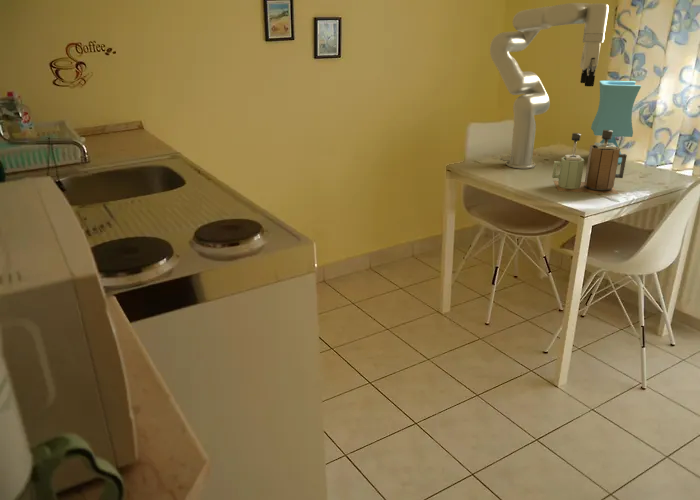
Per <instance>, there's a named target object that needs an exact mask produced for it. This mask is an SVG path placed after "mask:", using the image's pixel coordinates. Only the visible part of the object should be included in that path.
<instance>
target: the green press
mask: <svg viewBox="0 0 700 500" xmlns="http://www.w3.org/2000/svg"><path fill="white" fill-rule="evenodd" d="M560 159H561V161H560V160H554V161H553V167H552V176H551V178H552V179H558V180H557V181H558V183H559V184H558V186H559V187H561V188H564V189H578V188H580V185H581V182H582V179H583V170H584V166H585V165H584V164H585V159H584V158H582V157H581V155H580V154H575V157H572V154H565V155H564V156H563V157H561V158H560ZM558 166H559V174H557V167H558Z"/></svg>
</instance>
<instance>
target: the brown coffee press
mask: <svg viewBox="0 0 700 500" xmlns="http://www.w3.org/2000/svg"><path fill="white" fill-rule="evenodd" d="M603 149H606V150H603ZM620 152H621V148H620V146H618V147H617V146H615V145H614V144H613V143H607V146H604V143H600V142H594V144H592V145H589V152H588V159H587V165H586V171H585V177H584V182H585V188H587V189H589V190H593V191H610V190H612V188H613V187H614V185H615V181H616V180H615V179H623V178H624V172H625V168H626V162H627V154H626V153H621V154H619V153H620ZM619 157H620V158H622V162H621V165H620V168H619V173H617V167H618V165H619V164H618V158H619Z"/></svg>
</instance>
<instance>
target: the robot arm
mask: <svg viewBox="0 0 700 500" xmlns="http://www.w3.org/2000/svg"><path fill="white" fill-rule="evenodd" d="M609 7H610V6H609V4H607V3H602V2H601V3H590V2H589V3H587V2H571V3H564V4H563V3H562V4H557V5H552V6H551V5H550V6H549V5H548V6H542V7H536V8H529V9H524V10H520V11H518V12H516V13H515V15H514V16H513V18H512V26H513V27H514V29H515V30H516V31H504V32H501V33H500V32H499V33H498V34H496V35H495V36H494V37H493V38H492V40H491V42H490V47H489V52H490V53H489V54H490V58H491V60H492V62H493V65H494V66H495V67H496V68H497V71H498V72H499V74H500V77H501V79H502V81H503V83H504V85H505V87H506V89H507V91H508V92H509V94H511V95H513V96H518V97H517V98H516V99H514V102H513V106H512V107H513V108H512V110H513V128H512V140H511V149H510V153H509V155H500V156H499V160H500V161H503V162H505V161H506V166H507V167H509V168H513V169H519V170H520V169H521V170H523V169H533V168H534V167H535V166H536V163H535V162H533V156H534V155H533V154H534V146H535V139H536V129H537V125H536V120H535V119H536V118H535V116H537V115H542V114H544V113H546V112H547V111H548V110H549V109H550V106H551V102H550V97H549V94H548V93H547V91H546V89H545V86H544V84H543V82H542V80H541V79H540V77H539V76H538V75H537V73H535V72H533V71H523V70H522V69H521V67H520V65H519V63H518V61H517V60H516V59H515V57H514V56H513V55H511V54H510V53H515V52H517V53H518V52H521V51H524V50H525V49H527V48H528V47H529V45H530V44H531V43H532V42H533V40H534V39H535V38H536V36H537V35H538V34H539V32H540V31H541V30H548V29H550V28H552V27H556V26H557V27H558V26H566V25H567V26H569V25H583V24H584V29H583V37H582V43H583V48H582V54H581V58H580V63H579V67H580V69H582V70H581V74H580V75H581V76H580V84H584V87H594V85H595V77H596V70H597V68H598V65H599V60H600V58H599V57H600V51H601V44H603V43H604V42H605V36H606V35H605V33H606V29H607V22H608V15H609V10H610V8H609ZM519 95H520V96H519Z"/></svg>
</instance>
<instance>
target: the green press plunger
mask: <svg viewBox="0 0 700 500" xmlns="http://www.w3.org/2000/svg"><path fill="white" fill-rule="evenodd" d="M581 135H582V133H578V132H572V134H571V141H573V145H572V147H573V148H572V153H571V155H572V157H575V155H576V150H577V142H579V141H581Z"/></svg>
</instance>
